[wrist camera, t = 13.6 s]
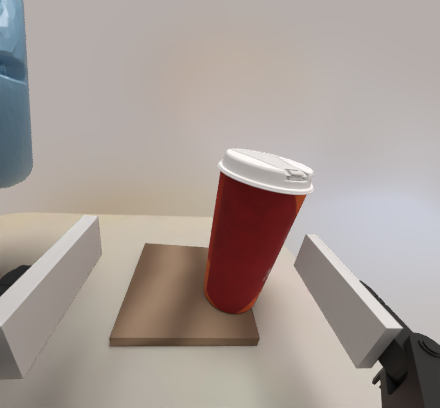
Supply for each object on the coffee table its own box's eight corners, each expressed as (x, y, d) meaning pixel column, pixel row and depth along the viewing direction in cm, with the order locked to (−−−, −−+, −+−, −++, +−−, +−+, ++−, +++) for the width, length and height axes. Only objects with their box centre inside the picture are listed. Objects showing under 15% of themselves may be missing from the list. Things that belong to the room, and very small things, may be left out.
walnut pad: (110, 345, 16) (109, 337, 16) (145, 249, 27) (145, 243, 27) (256, 345, 18) (259, 338, 18) (234, 255, 29) (236, 249, 28)
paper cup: (281, 313, 20) (343, 178, 15) (209, 336, 17) (256, 171, 11) (241, 260, 27) (275, 151, 21) (183, 269, 23) (205, 141, 18)
